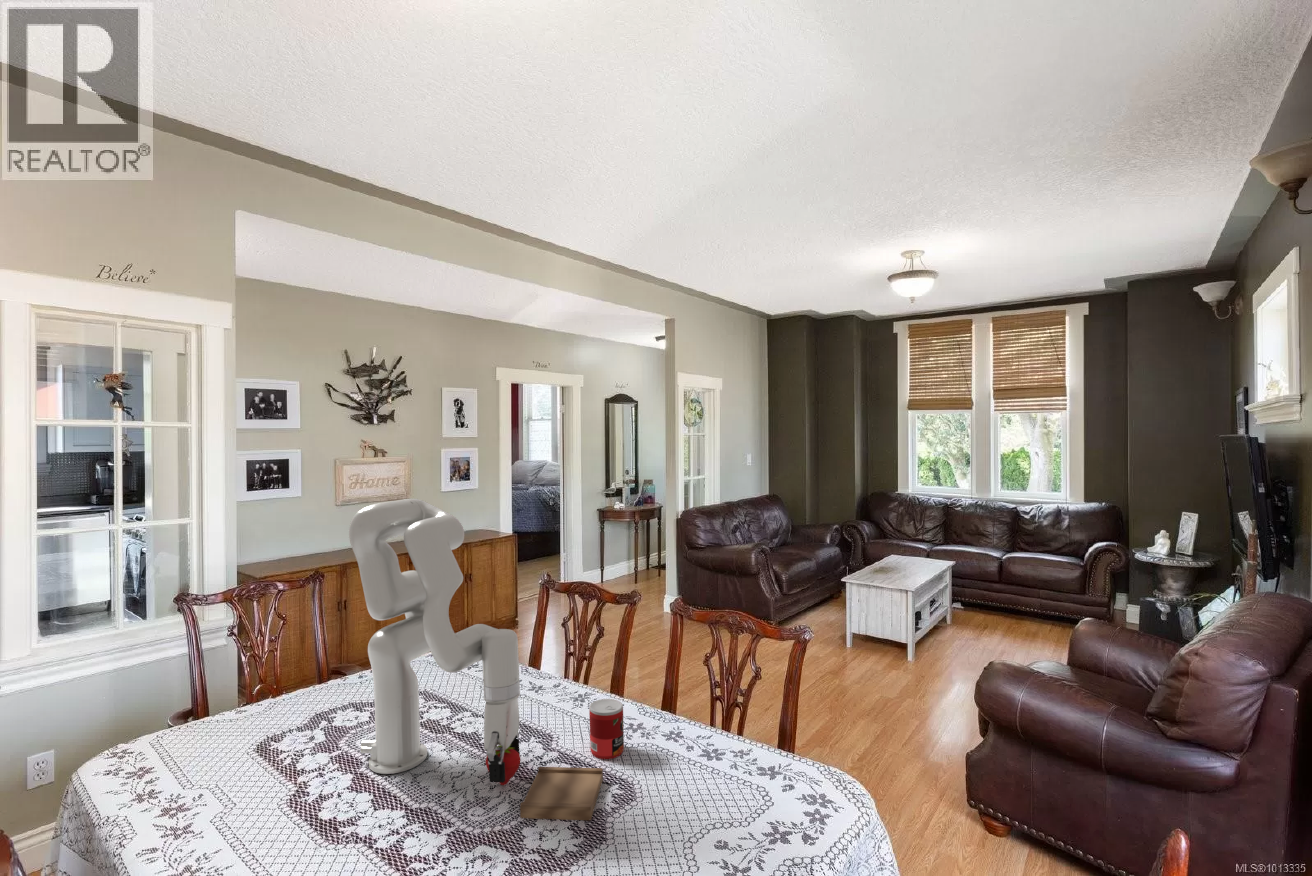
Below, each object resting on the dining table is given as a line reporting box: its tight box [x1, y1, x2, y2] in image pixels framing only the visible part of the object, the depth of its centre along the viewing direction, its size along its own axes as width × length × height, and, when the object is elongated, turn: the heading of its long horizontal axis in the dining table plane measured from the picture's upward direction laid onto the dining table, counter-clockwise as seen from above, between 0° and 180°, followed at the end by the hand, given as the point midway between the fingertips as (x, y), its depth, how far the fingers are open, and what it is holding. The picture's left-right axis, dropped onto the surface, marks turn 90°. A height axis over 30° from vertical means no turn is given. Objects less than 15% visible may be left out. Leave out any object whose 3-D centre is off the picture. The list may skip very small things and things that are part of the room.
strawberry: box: [485, 745, 521, 786], centre depth 136 cm, size 6×8×10 cm
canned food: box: [588, 698, 625, 760], centre depth 149 cm, size 8×8×11 cm
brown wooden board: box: [519, 766, 604, 821], centre depth 131 cm, size 14×14×3 cm
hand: (505, 769), depth 136 cm, fingers open, 9 cm apart
